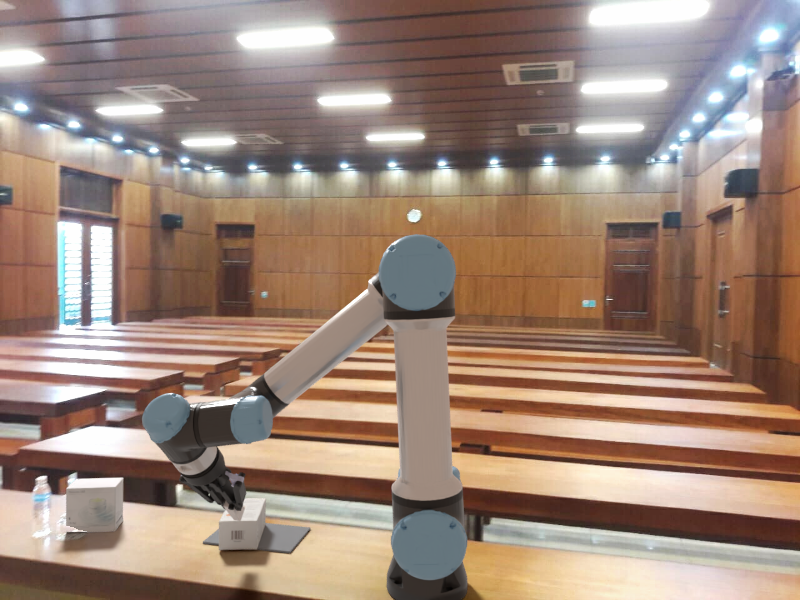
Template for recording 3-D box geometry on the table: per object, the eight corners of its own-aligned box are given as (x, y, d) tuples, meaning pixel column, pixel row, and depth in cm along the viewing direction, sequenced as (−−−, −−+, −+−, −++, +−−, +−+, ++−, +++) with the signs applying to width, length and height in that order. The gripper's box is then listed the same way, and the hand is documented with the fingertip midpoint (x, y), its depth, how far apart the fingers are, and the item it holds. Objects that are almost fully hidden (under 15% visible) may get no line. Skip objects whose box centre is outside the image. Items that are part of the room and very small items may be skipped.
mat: (310, 529, 134) (310, 527, 134) (290, 553, 122) (290, 551, 122) (230, 520, 138) (230, 519, 138) (202, 543, 126) (202, 541, 126)
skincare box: (64, 534, 129) (65, 487, 129) (76, 522, 136) (76, 478, 135) (115, 532, 131) (115, 485, 131) (123, 520, 137) (124, 476, 137)
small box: (257, 550, 122) (266, 524, 135) (257, 520, 122) (266, 497, 135) (217, 551, 122) (230, 524, 135) (217, 521, 122) (231, 497, 135)
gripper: (155, 473, 103) (204, 528, 119) (223, 480, 100) (263, 535, 117) (172, 436, 108) (217, 494, 125) (238, 441, 105) (274, 499, 122)
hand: (239, 514), depth 121 cm, fingers closed
